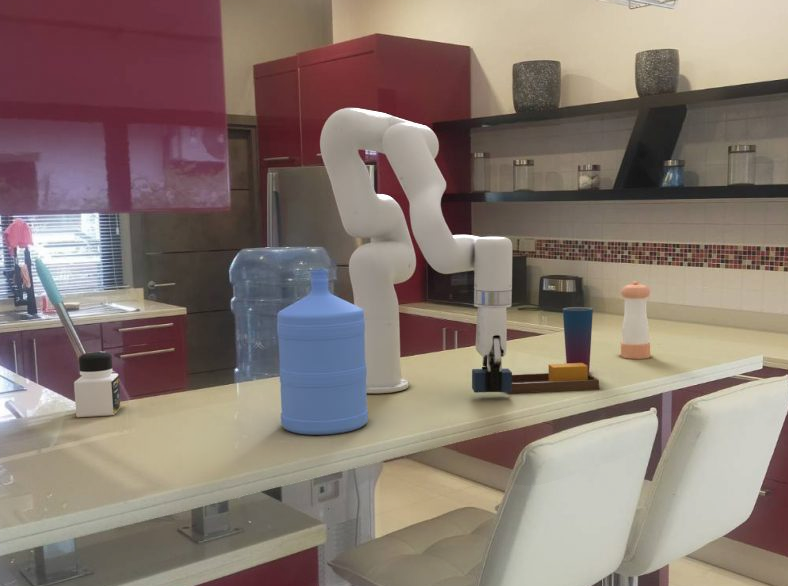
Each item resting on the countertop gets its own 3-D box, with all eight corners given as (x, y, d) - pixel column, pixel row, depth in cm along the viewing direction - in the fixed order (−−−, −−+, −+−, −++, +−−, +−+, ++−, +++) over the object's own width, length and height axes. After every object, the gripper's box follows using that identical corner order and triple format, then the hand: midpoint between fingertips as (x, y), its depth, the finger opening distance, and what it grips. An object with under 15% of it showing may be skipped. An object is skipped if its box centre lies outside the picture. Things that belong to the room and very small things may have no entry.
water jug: (384, 427, 153) (379, 269, 150) (302, 441, 145) (295, 275, 142) (344, 411, 167) (339, 266, 163) (267, 423, 158) (260, 271, 155)
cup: (591, 370, 201) (591, 306, 200) (594, 376, 195) (594, 310, 193) (562, 370, 202) (561, 307, 200) (564, 376, 195) (563, 310, 194)
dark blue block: (474, 392, 173) (474, 372, 172) (471, 388, 177) (472, 369, 176) (511, 391, 173) (512, 372, 173) (508, 387, 177) (508, 368, 177)
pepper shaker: (655, 355, 219) (655, 280, 217) (641, 359, 214) (641, 282, 212) (629, 353, 224) (629, 279, 222) (615, 357, 219) (615, 281, 216)
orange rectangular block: (553, 386, 183) (552, 367, 182) (548, 382, 187) (548, 364, 186) (587, 384, 183) (587, 366, 183) (582, 380, 187) (582, 362, 187)
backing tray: (508, 393, 179) (508, 384, 179) (500, 383, 189) (499, 374, 189) (599, 389, 181) (599, 380, 180) (585, 380, 191) (585, 371, 190)
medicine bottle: (114, 415, 168) (110, 354, 167) (76, 417, 167) (71, 356, 165) (121, 407, 175) (117, 349, 174) (84, 409, 174) (80, 351, 172)
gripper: (468, 294, 180) (467, 380, 183) (480, 304, 164) (479, 398, 166) (503, 294, 181) (502, 379, 183) (519, 303, 165) (517, 397, 167)
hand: (491, 387), depth 175 cm, fingers closed on dark blue block, 4 cm apart
